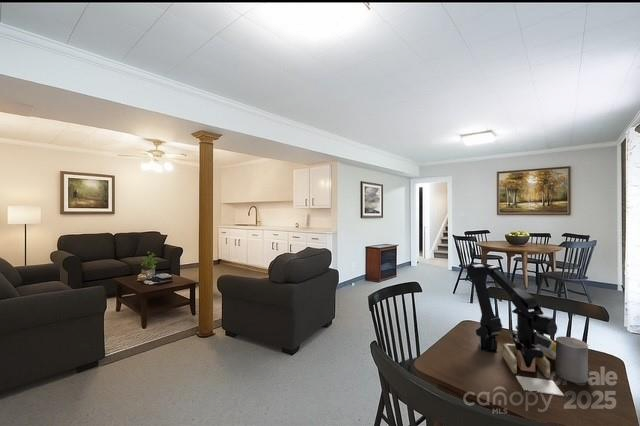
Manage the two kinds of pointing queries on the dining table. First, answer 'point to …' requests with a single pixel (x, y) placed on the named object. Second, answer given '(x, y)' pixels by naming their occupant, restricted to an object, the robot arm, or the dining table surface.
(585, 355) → the pillar candle
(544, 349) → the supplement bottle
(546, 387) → the cream mat
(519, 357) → the terracotta block
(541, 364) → the open front box
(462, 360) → the dining table surface
